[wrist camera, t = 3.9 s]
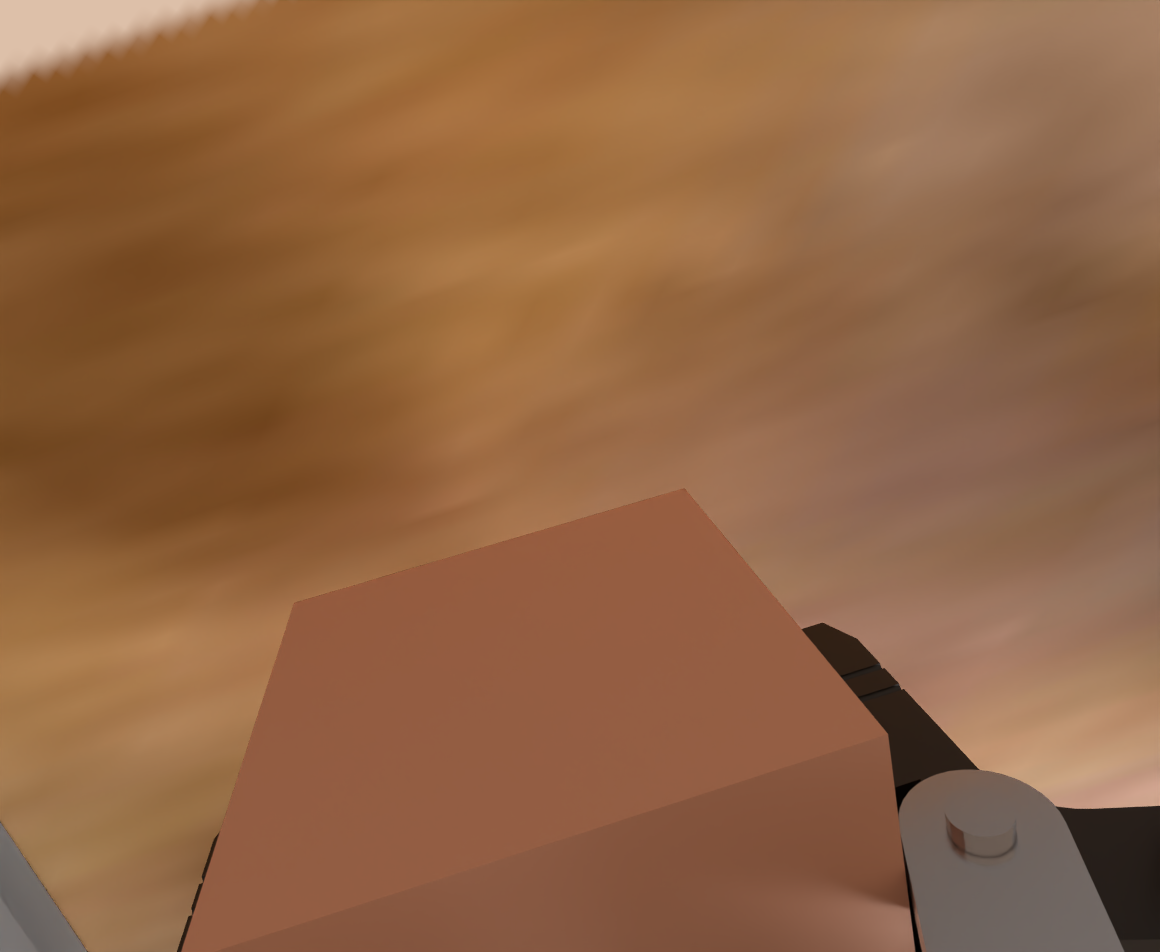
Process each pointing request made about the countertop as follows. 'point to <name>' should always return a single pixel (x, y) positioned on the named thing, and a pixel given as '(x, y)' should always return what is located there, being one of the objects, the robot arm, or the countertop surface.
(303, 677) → the terracotta cube
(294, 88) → the countertop surface
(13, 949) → the tote
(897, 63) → the countertop surface
